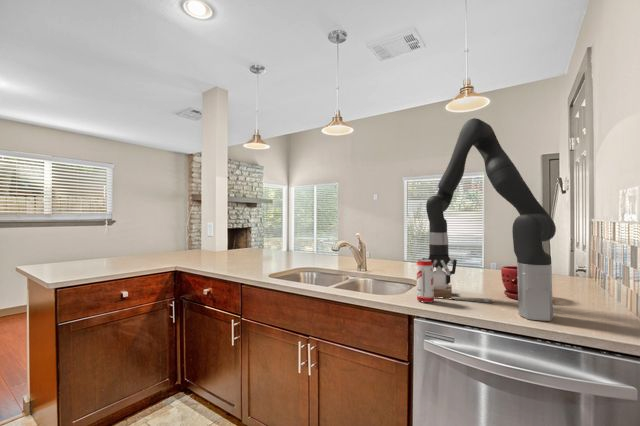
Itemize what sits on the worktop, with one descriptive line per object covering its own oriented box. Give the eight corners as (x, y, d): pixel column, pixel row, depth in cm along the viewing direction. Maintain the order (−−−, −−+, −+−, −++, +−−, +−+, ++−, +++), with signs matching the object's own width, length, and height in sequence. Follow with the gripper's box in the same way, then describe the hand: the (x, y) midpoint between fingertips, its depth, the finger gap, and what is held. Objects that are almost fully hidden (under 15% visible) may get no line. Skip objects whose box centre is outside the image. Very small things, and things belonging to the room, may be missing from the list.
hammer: (493, 303, 117) (493, 294, 117) (427, 298, 127) (426, 289, 127) (490, 295, 128) (490, 287, 128) (429, 291, 138) (429, 283, 138)
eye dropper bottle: (445, 292, 127) (444, 263, 128) (431, 290, 131) (430, 262, 131) (448, 290, 131) (447, 261, 131) (435, 289, 134) (434, 261, 134)
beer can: (431, 299, 125) (430, 259, 125) (435, 303, 118) (434, 261, 119) (415, 299, 125) (414, 259, 125) (419, 303, 119) (417, 261, 119)
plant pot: (549, 301, 118) (548, 269, 119) (513, 301, 119) (513, 270, 119) (526, 293, 131) (526, 264, 132) (495, 293, 132) (494, 265, 132)
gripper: (419, 243, 131) (420, 284, 130) (457, 244, 125) (458, 286, 124) (421, 242, 137) (422, 280, 137) (457, 242, 132) (458, 282, 131)
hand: (439, 283), depth 131 cm, fingers closed on eye dropper bottle, 5 cm apart
